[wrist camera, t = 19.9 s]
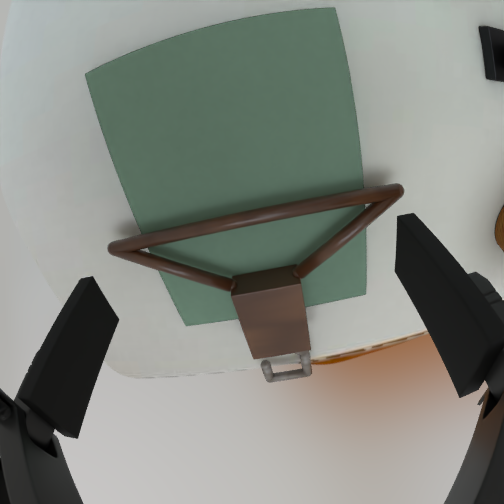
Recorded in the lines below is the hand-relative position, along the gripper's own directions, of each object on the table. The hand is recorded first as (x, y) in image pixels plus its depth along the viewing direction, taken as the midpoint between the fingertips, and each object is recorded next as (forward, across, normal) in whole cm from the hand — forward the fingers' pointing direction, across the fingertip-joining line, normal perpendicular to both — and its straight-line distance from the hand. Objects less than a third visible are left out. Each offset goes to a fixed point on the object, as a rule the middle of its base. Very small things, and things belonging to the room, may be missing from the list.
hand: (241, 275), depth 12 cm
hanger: (+8, 0, -1) cm, 8 cm away
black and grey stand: (+9, +24, +15) cm, 30 cm away
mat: (+10, 0, 0) cm, 10 cm away
